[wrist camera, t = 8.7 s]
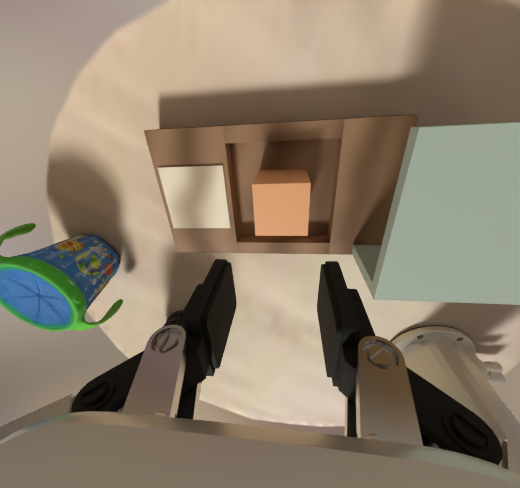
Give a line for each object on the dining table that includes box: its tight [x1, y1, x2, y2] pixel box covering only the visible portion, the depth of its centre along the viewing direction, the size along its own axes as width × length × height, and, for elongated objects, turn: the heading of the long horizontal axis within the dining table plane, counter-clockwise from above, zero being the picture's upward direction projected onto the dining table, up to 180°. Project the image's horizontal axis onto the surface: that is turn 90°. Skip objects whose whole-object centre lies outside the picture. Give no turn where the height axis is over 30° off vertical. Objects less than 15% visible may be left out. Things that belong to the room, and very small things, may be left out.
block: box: [252, 169, 311, 236], centre depth 23 cm, size 5×5×6 cm
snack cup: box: [0, 223, 123, 331], centre depth 30 cm, size 16×10×10 cm
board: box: [144, 115, 418, 254], centre depth 25 cm, size 25×14×3 cm, turn 93°
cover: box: [352, 121, 520, 305], centre depth 18 cm, size 12×13×8 cm
